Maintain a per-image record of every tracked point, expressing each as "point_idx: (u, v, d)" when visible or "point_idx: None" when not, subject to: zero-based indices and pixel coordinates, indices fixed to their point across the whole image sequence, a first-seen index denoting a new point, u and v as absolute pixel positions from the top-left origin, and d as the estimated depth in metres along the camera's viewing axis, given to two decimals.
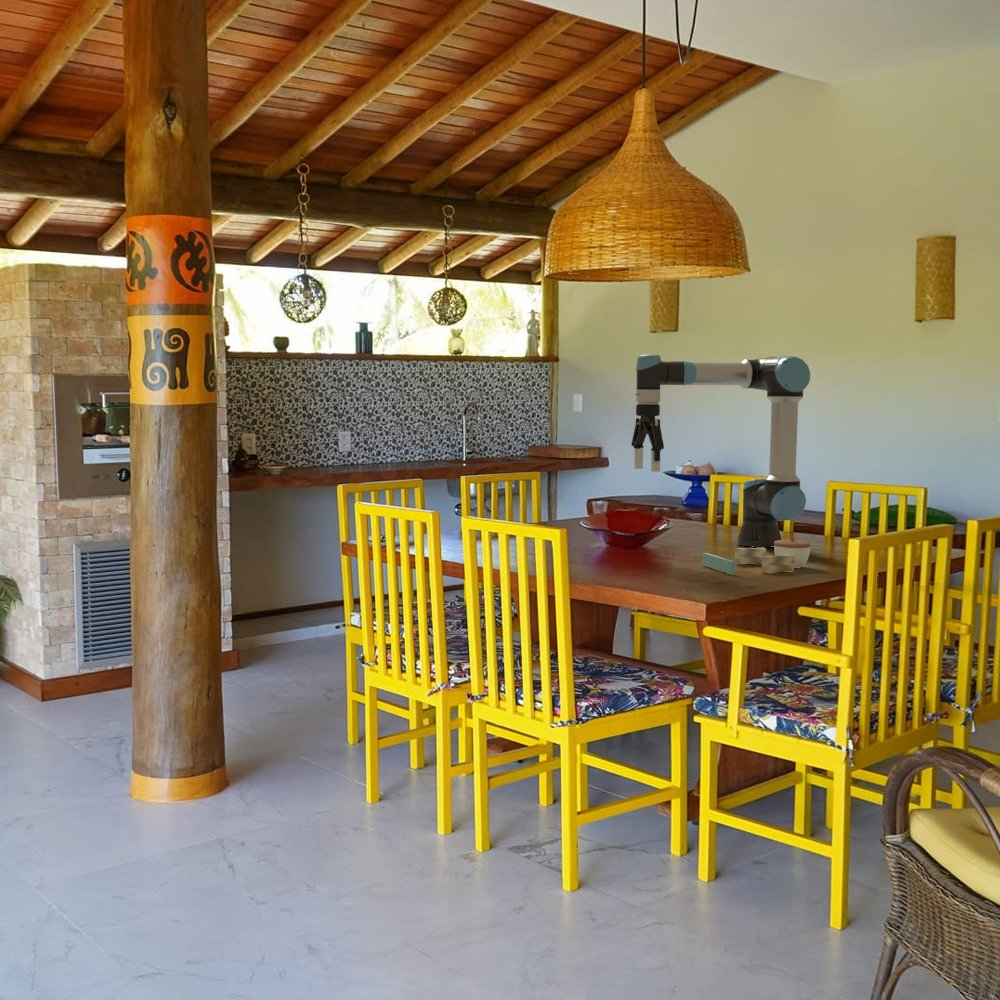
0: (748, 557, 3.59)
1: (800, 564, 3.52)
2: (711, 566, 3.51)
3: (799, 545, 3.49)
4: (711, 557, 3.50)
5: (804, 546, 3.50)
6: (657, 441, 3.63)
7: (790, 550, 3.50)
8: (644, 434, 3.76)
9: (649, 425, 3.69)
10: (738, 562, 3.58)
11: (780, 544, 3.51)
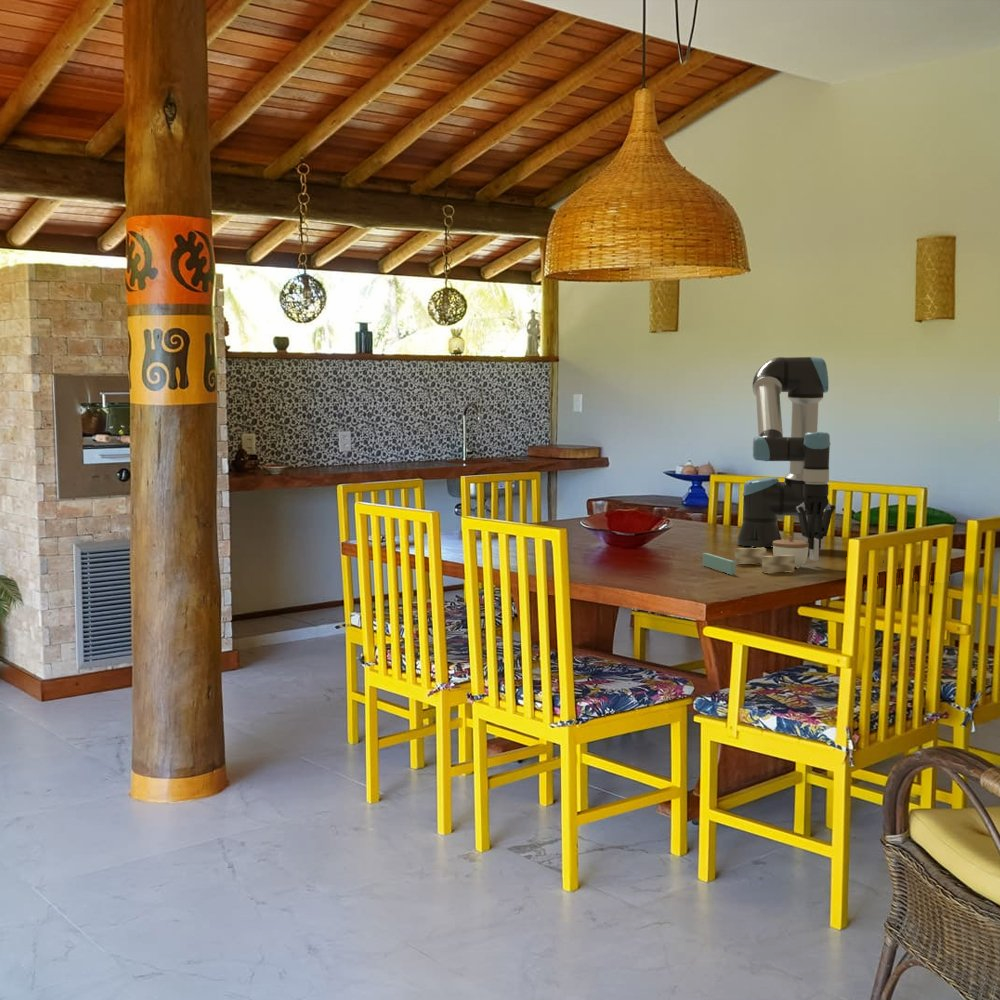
0: (748, 557, 3.59)
1: (799, 564, 3.51)
2: (711, 566, 3.51)
3: (797, 545, 3.49)
4: (711, 557, 3.50)
5: (802, 546, 3.50)
6: (802, 529, 3.56)
7: (788, 550, 3.50)
8: (817, 517, 3.56)
9: None
10: (738, 562, 3.58)
11: (778, 544, 3.51)
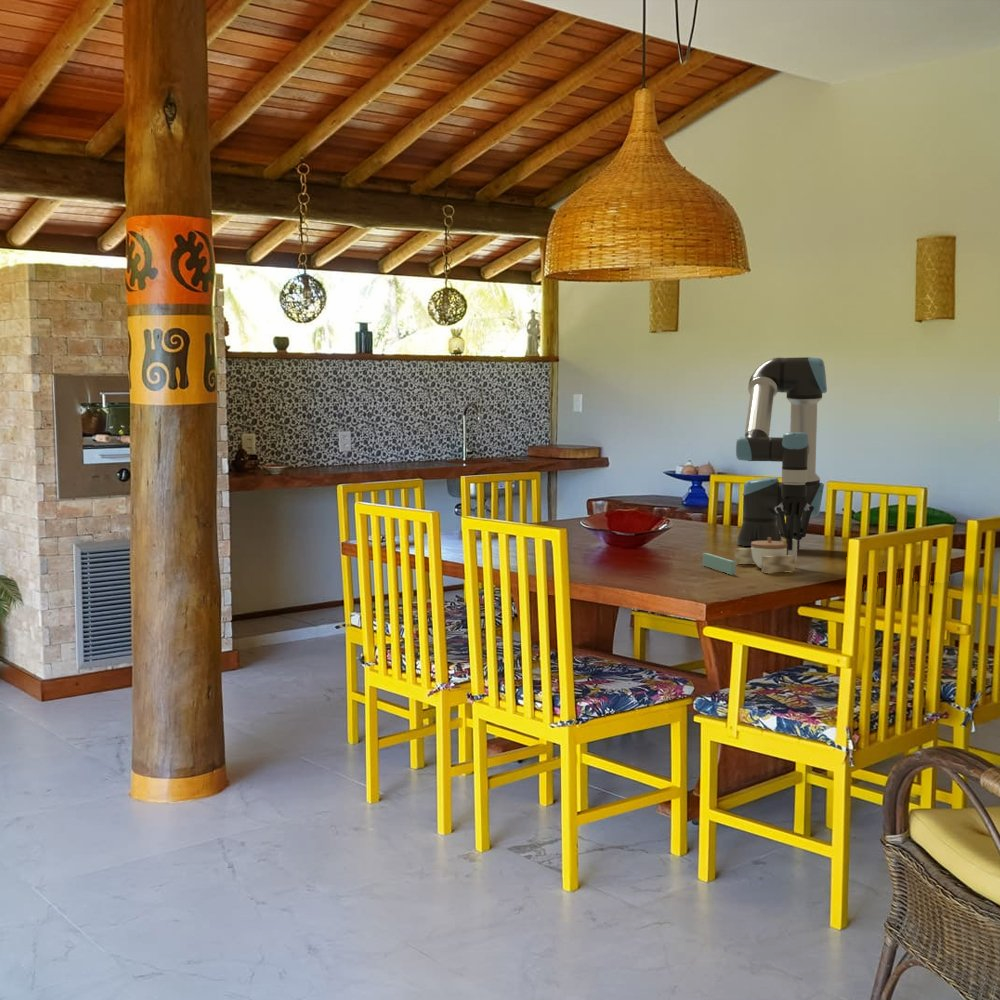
0: (748, 557, 3.59)
1: None
2: (711, 566, 3.51)
3: (776, 546, 3.47)
4: (711, 557, 3.50)
5: (781, 547, 3.48)
6: (780, 530, 3.53)
7: (767, 551, 3.47)
8: (796, 518, 3.53)
9: None
10: (738, 562, 3.58)
11: (757, 545, 3.49)
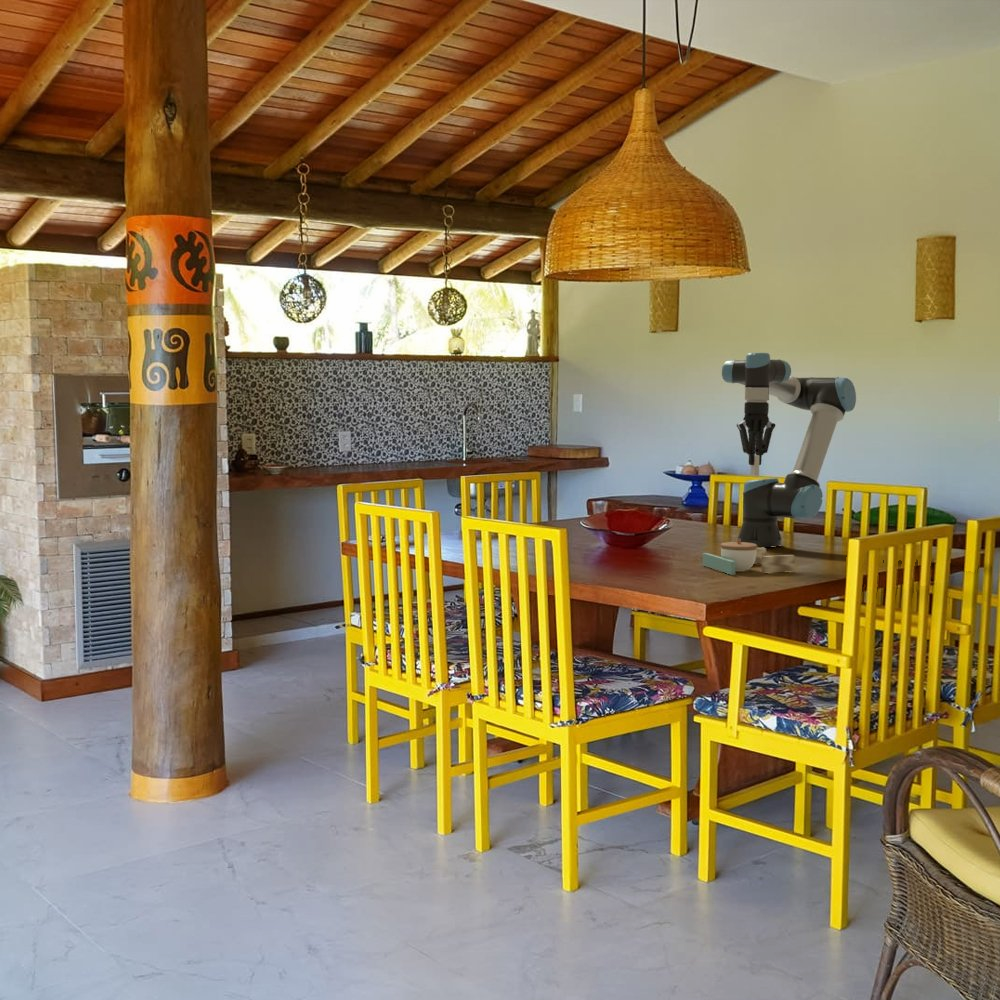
0: None
1: (747, 567, 3.46)
2: (711, 566, 3.51)
3: (746, 547, 3.44)
4: (711, 557, 3.50)
5: (751, 548, 3.44)
6: (743, 446, 3.72)
7: (737, 552, 3.44)
8: (758, 434, 3.72)
9: None
10: None
11: (727, 546, 3.45)
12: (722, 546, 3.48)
